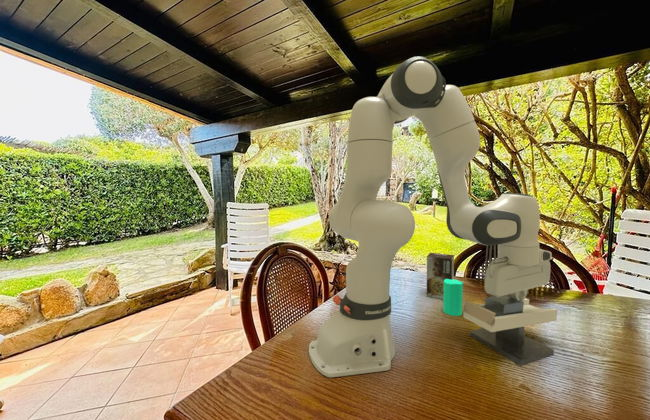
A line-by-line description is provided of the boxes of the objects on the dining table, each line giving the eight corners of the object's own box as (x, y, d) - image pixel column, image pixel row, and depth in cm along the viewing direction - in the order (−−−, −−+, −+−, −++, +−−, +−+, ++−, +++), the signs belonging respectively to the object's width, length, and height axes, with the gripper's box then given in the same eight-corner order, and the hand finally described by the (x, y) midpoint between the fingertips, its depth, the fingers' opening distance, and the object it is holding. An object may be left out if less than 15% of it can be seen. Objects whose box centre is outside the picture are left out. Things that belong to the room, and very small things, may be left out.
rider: (502, 320, 66) (504, 304, 65) (484, 312, 70) (485, 297, 70) (522, 317, 68) (523, 302, 68) (503, 309, 73) (504, 295, 73)
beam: (491, 332, 63) (493, 313, 62) (463, 317, 70) (464, 300, 70) (556, 320, 71) (558, 304, 71) (524, 308, 78) (526, 293, 78)
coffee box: (453, 295, 104) (455, 254, 102) (451, 301, 98) (452, 258, 97) (429, 291, 109) (429, 252, 107) (425, 296, 103) (426, 255, 102)
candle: (464, 316, 87) (465, 280, 86) (445, 315, 88) (446, 279, 87) (459, 308, 92) (460, 274, 92) (441, 307, 94) (441, 273, 93)
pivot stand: (520, 365, 62) (521, 339, 62) (469, 335, 76) (470, 313, 75) (553, 354, 66) (555, 329, 66) (499, 327, 80) (500, 306, 79)
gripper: (501, 263, 63) (501, 319, 64) (556, 252, 70) (555, 302, 71) (477, 257, 69) (478, 308, 70) (530, 247, 76) (530, 294, 77)
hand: (517, 305), depth 71 cm, fingers closed
